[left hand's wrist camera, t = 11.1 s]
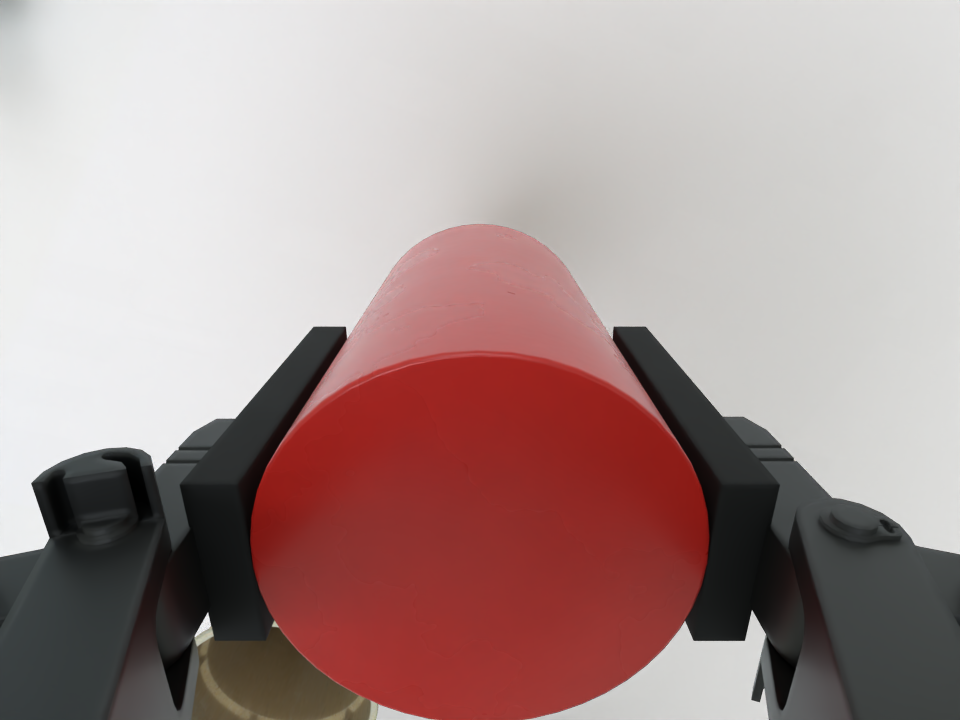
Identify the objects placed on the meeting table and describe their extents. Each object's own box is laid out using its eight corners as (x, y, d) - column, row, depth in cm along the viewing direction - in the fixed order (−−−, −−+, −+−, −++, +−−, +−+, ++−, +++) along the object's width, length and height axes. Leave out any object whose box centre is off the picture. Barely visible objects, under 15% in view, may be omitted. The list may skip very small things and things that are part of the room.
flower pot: (208, 551, 34) (123, 681, 26) (333, 474, 32) (283, 589, 24) (312, 650, 37) (265, 796, 29) (432, 585, 35) (418, 721, 27)
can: (456, 177, 16) (422, 243, 6) (627, 309, 17) (809, 528, 8) (335, 349, 18) (167, 601, 8) (498, 456, 19) (517, 778, 10)
